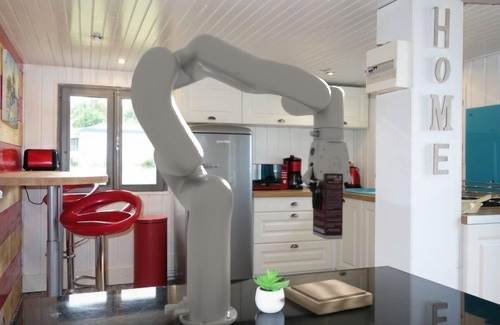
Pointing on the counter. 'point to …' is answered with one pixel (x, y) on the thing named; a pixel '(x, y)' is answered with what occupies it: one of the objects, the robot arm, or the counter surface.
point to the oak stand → (328, 296)
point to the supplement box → (330, 208)
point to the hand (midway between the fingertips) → (327, 208)
